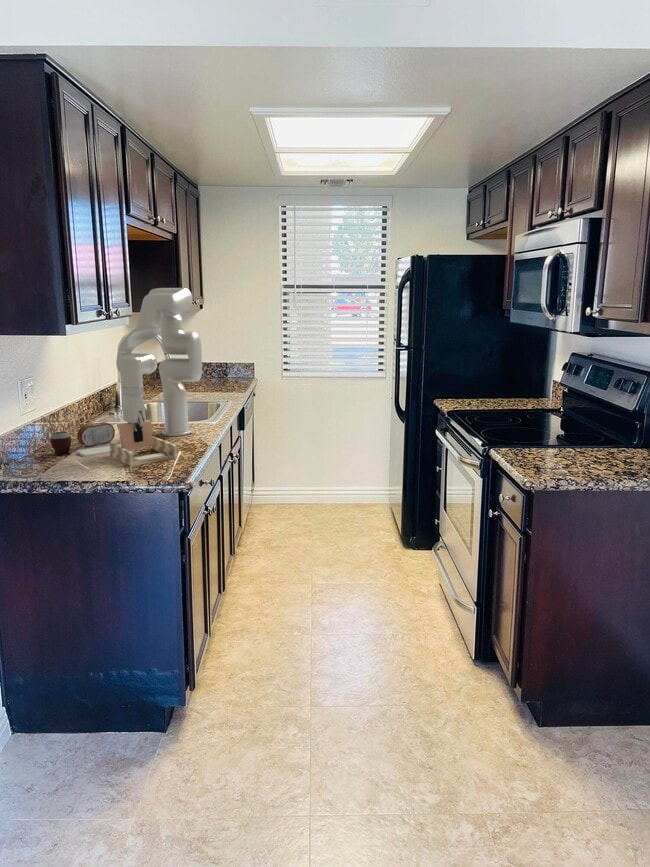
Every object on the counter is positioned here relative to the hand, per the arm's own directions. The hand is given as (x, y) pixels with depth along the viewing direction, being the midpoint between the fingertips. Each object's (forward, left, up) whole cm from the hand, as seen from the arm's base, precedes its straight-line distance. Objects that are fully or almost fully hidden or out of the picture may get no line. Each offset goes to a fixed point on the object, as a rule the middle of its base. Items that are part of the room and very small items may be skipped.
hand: (136, 440), depth 225 cm
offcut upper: (+11, 0, -5) cm, 12 cm away
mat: (-13, -5, -5) cm, 15 cm away
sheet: (0, 0, -2) cm, 2 cm away
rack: (+6, 0, -5) cm, 8 cm away
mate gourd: (-20, -21, -6) cm, 30 cm away
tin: (-27, -5, -6) cm, 28 cm away
